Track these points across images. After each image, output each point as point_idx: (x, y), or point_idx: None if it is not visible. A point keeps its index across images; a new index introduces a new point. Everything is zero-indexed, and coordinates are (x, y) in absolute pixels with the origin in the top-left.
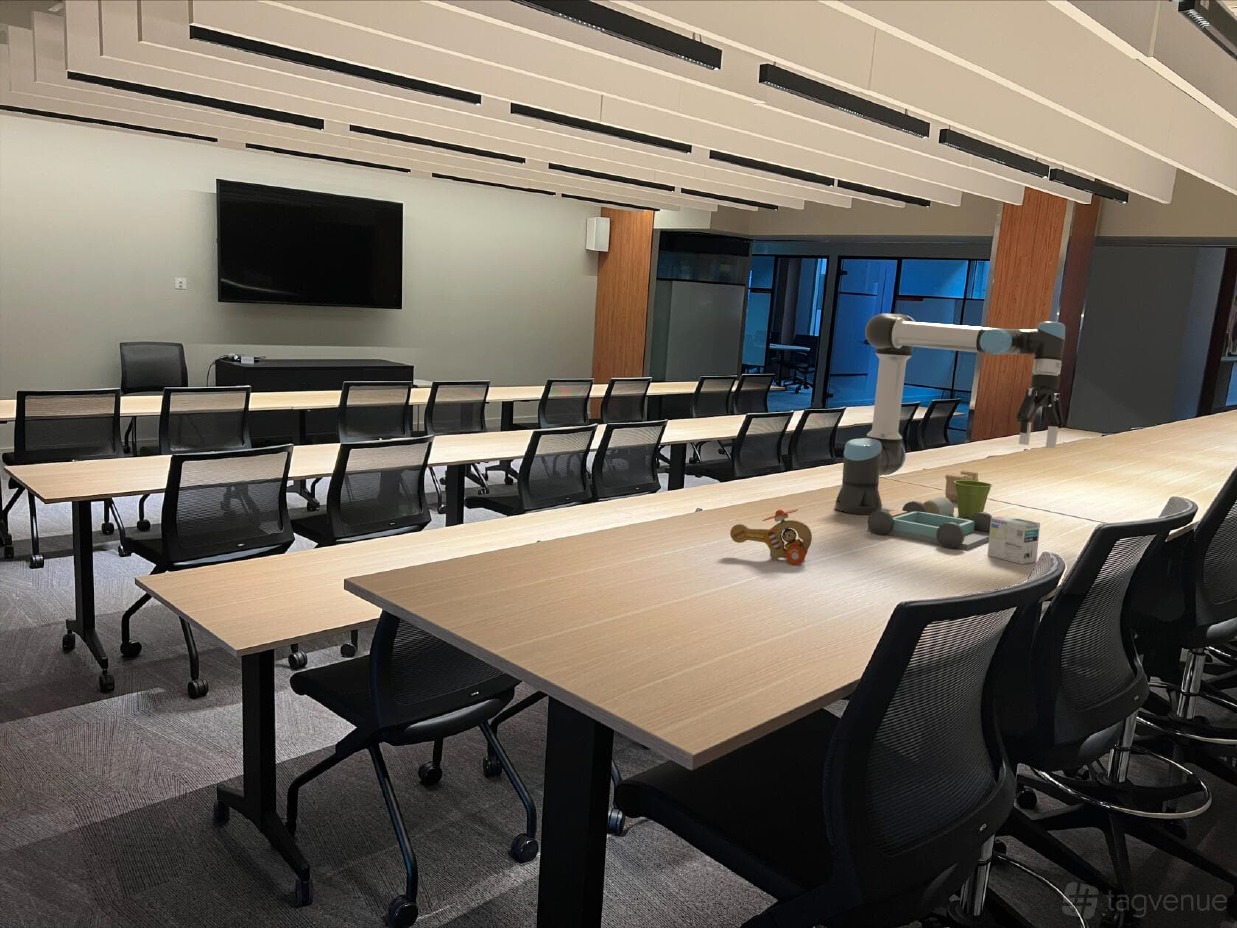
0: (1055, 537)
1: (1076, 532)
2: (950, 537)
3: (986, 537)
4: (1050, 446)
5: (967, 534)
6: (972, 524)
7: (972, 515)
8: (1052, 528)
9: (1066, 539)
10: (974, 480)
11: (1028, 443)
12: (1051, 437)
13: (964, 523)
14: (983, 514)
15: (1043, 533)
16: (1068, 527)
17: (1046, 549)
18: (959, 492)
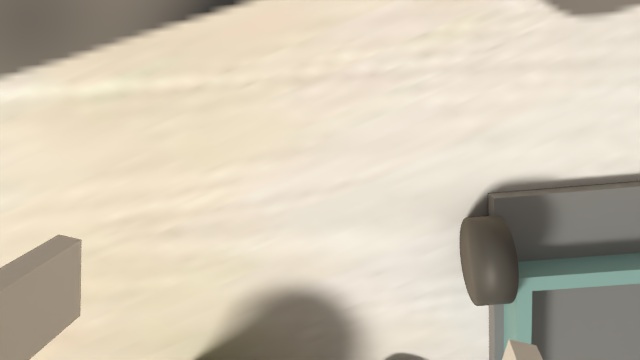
0: (266, 75)
1: (105, 64)
2: None
3: (572, 191)
4: (71, 282)
5: (580, 250)
6: (534, 272)
7: (513, 301)
8: (122, 148)
9: (263, 35)
10: None
11: (519, 349)
12: (1, 335)
13: (595, 280)
14: (517, 267)
15: (238, 131)
16: (47, 120)
17: (497, 9)
18: None
